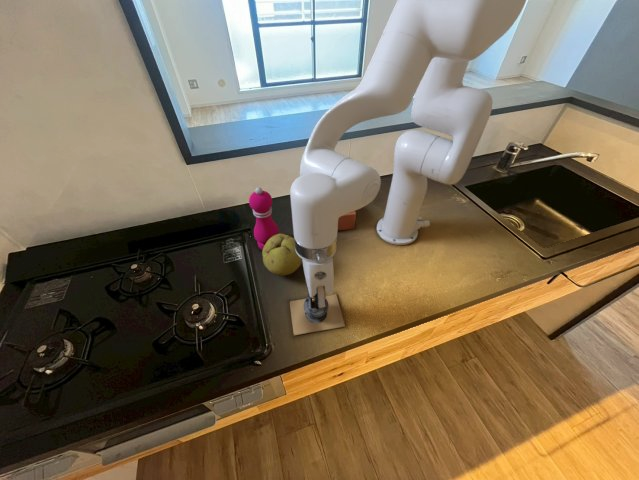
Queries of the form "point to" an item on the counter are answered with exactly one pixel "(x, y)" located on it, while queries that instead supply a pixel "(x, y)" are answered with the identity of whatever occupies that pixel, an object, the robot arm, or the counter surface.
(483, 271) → the counter surface
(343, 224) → the holder
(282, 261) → the fruit
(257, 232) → the pepper mill
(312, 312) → the grey stone figurine
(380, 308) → the counter surface
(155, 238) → the counter surface
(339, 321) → the board
